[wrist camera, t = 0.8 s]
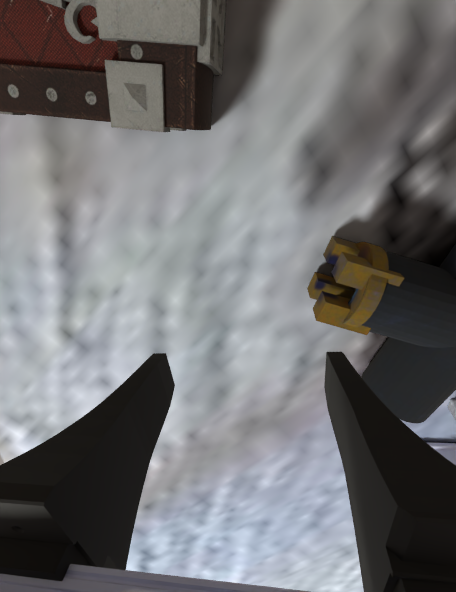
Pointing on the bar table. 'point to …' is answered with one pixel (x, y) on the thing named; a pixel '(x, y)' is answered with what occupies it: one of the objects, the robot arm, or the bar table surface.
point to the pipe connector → (395, 321)
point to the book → (112, 60)
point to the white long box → (452, 407)
